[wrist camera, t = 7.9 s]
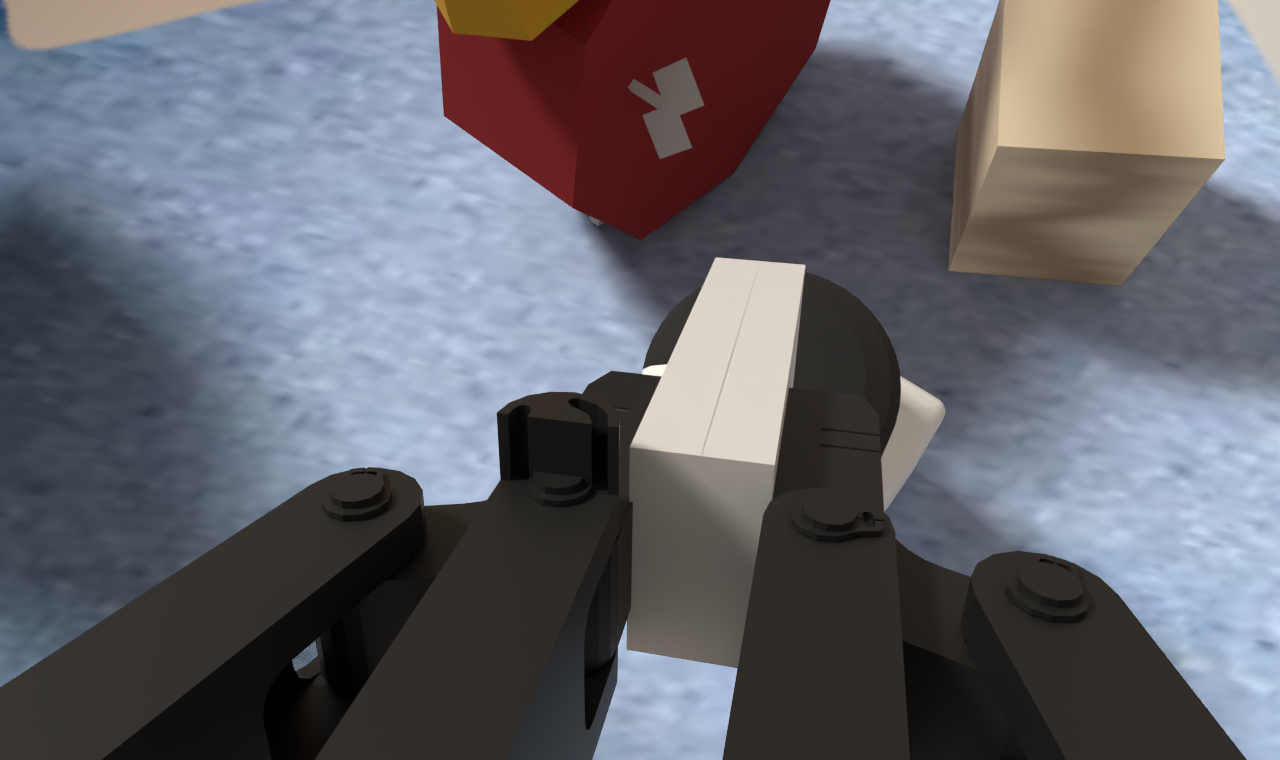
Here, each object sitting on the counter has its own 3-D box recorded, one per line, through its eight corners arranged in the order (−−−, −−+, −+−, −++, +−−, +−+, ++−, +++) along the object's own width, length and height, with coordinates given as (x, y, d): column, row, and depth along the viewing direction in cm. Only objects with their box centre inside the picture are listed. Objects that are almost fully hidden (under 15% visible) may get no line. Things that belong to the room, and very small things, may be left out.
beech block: (948, 271, 33) (997, 145, 26) (956, 135, 35) (1005, -19, 28) (1121, 285, 32) (1224, 159, 25) (1120, 144, 34) (1216, -13, 27)
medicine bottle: (746, 359, 33) (731, 183, 22) (915, 468, 31) (994, 334, 20) (629, 513, 32) (551, 408, 21) (797, 639, 30) (811, 597, 18)
